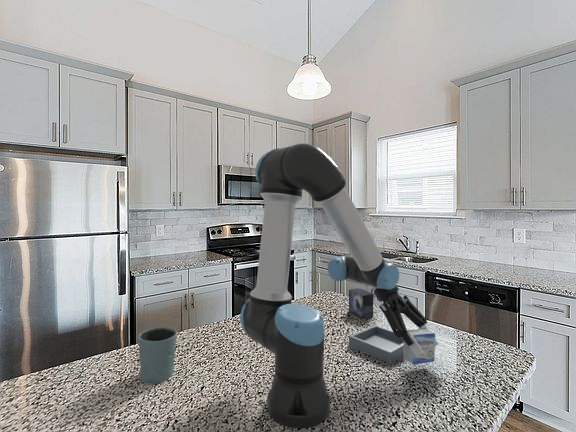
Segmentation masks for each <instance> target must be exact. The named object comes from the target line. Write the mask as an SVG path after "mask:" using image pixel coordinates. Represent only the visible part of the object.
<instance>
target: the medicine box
mask: <svg viewBox="0 0 576 432" xmlns="http://www.w3.org/2000/svg"><path fill="white" fill-rule="evenodd" d="M428 329H429V328H428ZM428 329H419V328H417V329H408V330H407V333H408V332H410V333H411V334H412V335H413V337H414V338H415V340H416V341H417V343H418V344H419V345H420V347H421V348H422V350H423V351H424V353H423V354H422V355H420V356H418V357H417V358H416V356H415V355H414V353H413V352H412V350H411V349H410V347H409V346H408V345H407V343H406V342H405V340H404V353H403V356H402V358H404V359H405V360H406V361H407V362H409V363H410V364H411V365H419V364H427V363H434V362H435V357H436V356H435V353H436V346H435V339H436V333H435V332H433V331H432V330H430V329H429V330H428Z"/></svg>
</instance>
